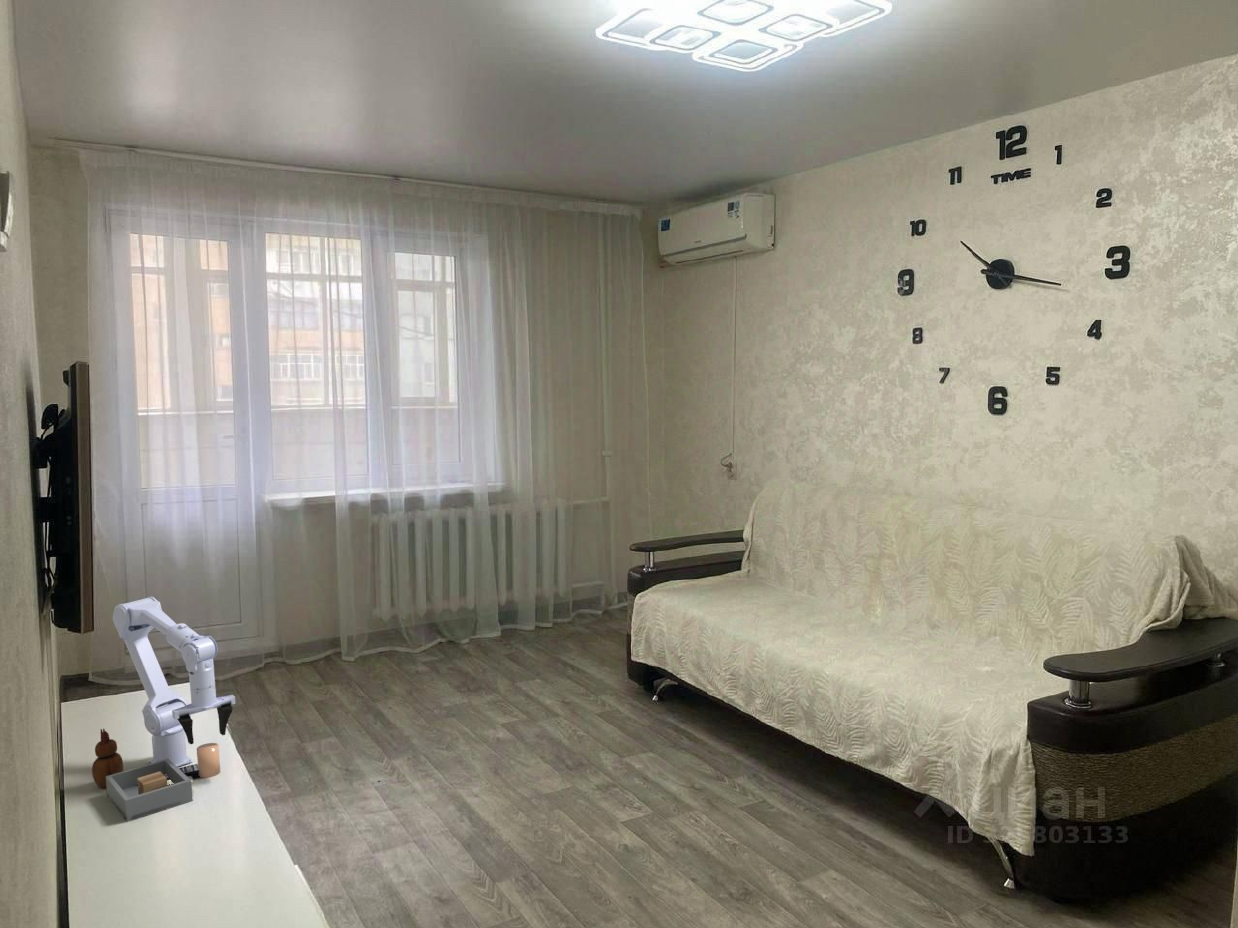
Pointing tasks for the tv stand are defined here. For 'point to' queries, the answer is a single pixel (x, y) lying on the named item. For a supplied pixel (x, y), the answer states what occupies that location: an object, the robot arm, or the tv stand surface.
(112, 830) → the tv stand surface
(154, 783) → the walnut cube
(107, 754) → the wooden figurine
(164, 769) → the tote
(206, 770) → the terracotta cylinder
